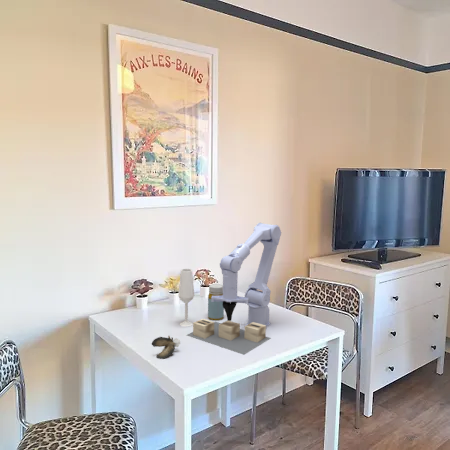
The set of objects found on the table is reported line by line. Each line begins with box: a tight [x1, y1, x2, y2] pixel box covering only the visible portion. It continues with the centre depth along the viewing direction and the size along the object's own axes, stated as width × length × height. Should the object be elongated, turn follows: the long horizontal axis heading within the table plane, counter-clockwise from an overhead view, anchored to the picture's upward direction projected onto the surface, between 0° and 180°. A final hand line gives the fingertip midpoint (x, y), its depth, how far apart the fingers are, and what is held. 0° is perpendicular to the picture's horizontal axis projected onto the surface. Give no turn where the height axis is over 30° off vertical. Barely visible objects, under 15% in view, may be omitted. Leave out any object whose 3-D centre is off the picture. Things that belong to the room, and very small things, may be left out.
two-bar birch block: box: [192, 318, 215, 339], centre depth 168 cm, size 6×6×5 cm
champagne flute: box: [178, 268, 195, 328], centre depth 178 cm, size 7×7×24 cm
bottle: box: [207, 283, 225, 321], centre depth 186 cm, size 7×7×15 cm
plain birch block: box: [219, 320, 241, 340], centre depth 166 cm, size 6×6×5 cm
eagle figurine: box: [151, 335, 181, 360], centre depth 151 cm, size 8×7×9 cm
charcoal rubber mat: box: [186, 321, 272, 355], centre depth 166 cm, size 19×28×1 cm
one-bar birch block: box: [244, 322, 267, 342], centre depth 165 cm, size 6×6×5 cm
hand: (229, 319), depth 166 cm, fingers closed
